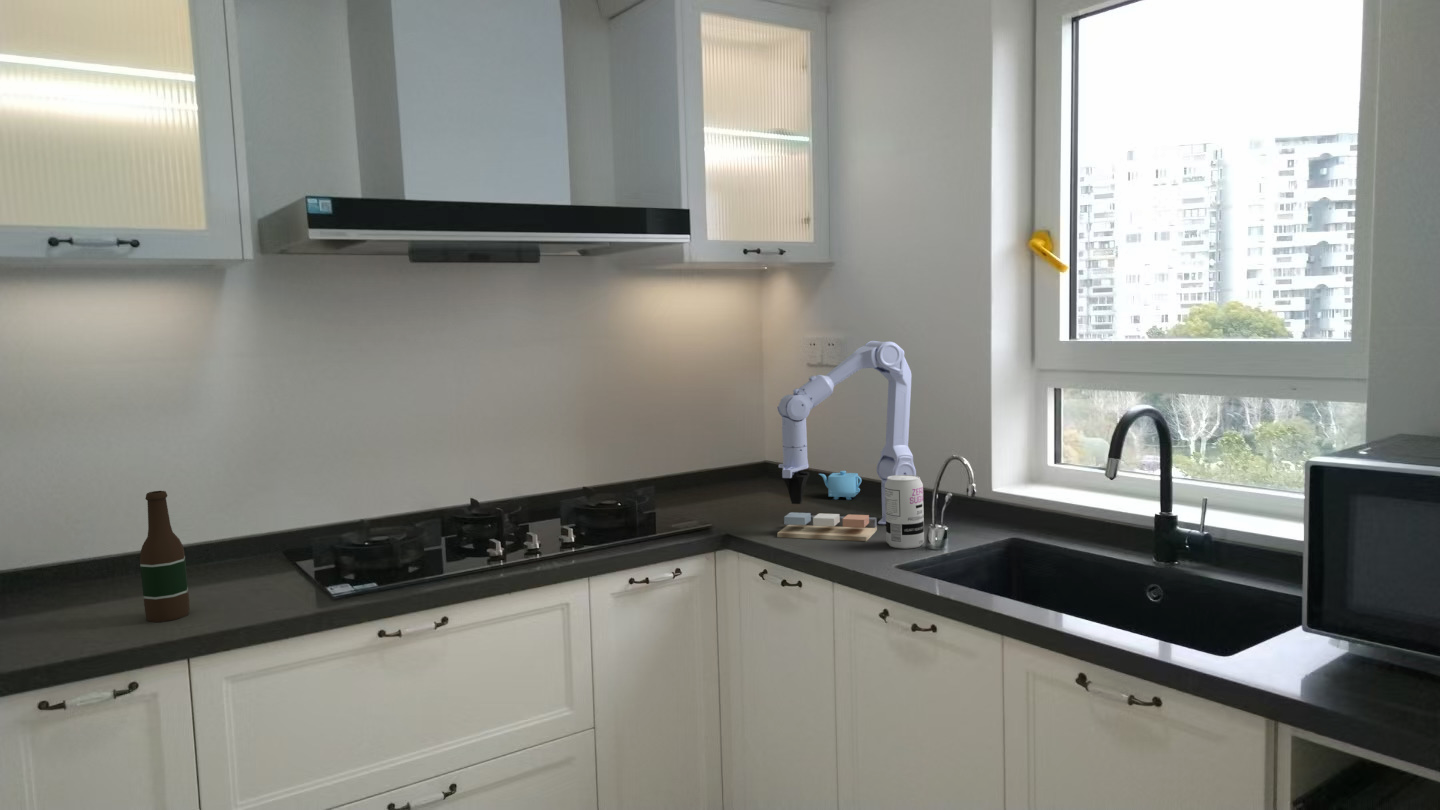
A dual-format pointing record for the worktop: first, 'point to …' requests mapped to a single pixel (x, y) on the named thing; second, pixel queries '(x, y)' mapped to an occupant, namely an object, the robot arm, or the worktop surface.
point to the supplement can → (904, 511)
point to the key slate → (797, 518)
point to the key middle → (826, 519)
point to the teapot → (842, 484)
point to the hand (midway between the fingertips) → (796, 503)
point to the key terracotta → (855, 520)
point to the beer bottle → (163, 565)
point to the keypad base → (830, 531)
